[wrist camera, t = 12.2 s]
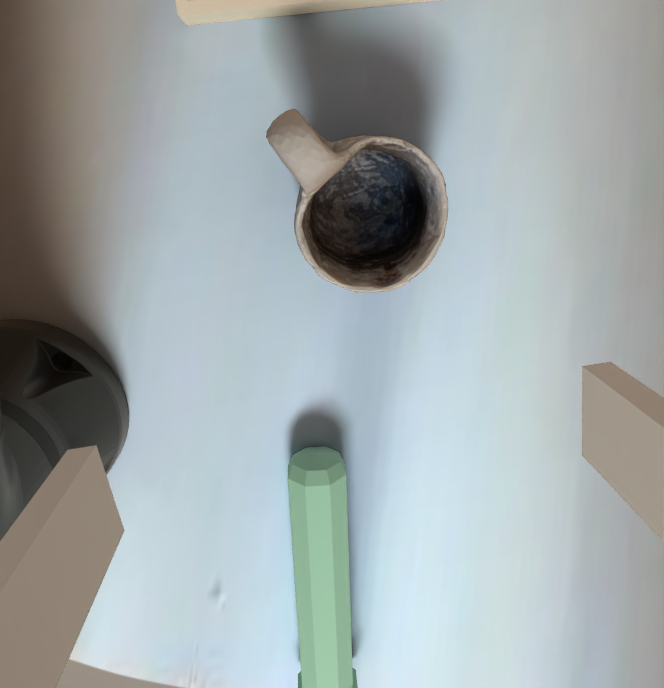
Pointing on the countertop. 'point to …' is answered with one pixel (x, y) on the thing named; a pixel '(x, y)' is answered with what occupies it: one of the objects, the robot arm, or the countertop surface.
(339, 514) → the green octagonal rod
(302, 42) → the countertop surface
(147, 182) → the countertop surface
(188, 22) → the tray
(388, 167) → the mug
